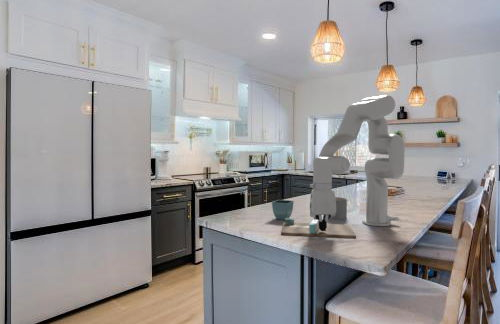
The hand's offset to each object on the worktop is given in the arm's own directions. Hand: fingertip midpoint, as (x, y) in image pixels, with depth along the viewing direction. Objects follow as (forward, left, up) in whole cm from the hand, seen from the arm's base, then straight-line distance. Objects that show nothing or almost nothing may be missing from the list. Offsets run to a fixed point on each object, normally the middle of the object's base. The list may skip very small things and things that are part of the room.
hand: (322, 230), depth 132 cm
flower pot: (+18, -27, -2) cm, 32 cm away
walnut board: (+2, -6, -2) cm, 7 cm away
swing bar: (+3, -1, 0) cm, 4 cm away
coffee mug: (-9, -36, -2) cm, 37 cm away
